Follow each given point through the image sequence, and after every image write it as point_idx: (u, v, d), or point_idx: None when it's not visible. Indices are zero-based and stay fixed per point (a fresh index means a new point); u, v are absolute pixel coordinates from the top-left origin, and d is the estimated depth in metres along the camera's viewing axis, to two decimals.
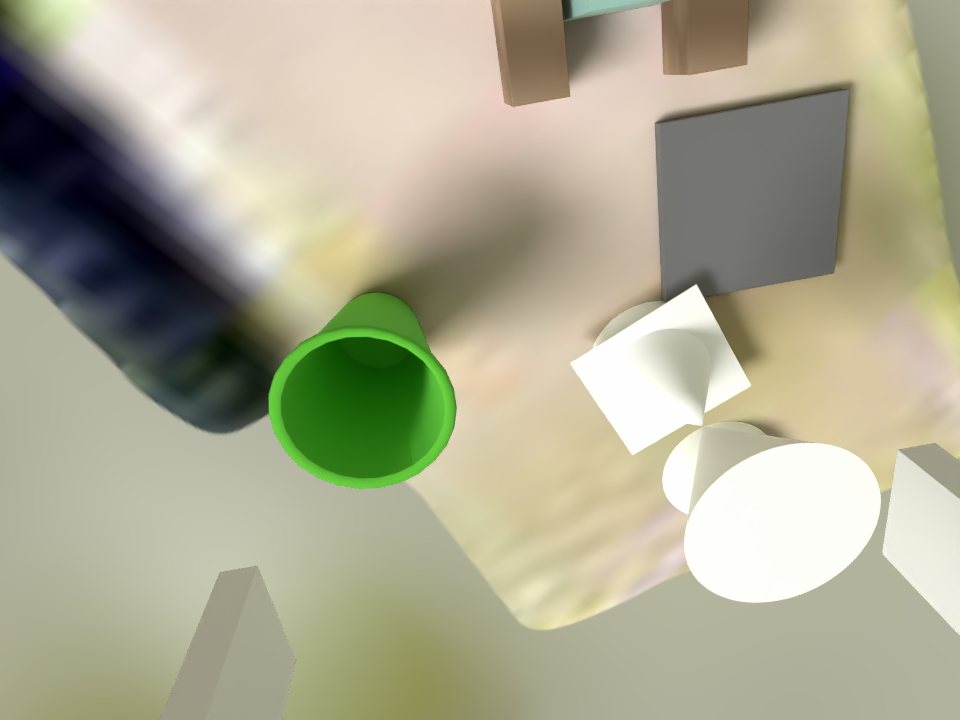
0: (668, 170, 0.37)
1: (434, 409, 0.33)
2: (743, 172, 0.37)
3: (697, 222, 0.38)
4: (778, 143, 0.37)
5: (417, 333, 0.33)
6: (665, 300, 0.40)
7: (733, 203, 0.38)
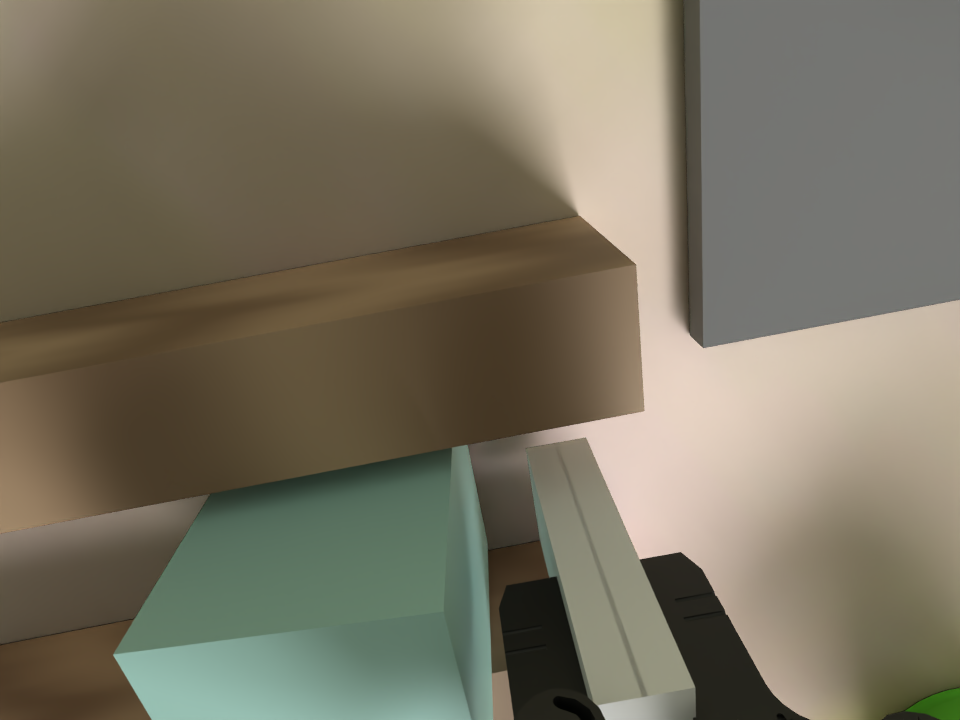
0: (812, 311, 0.15)
1: None
2: (870, 101, 0.13)
3: None
4: (814, 1, 0.12)
5: None
6: None
7: (946, 119, 0.13)
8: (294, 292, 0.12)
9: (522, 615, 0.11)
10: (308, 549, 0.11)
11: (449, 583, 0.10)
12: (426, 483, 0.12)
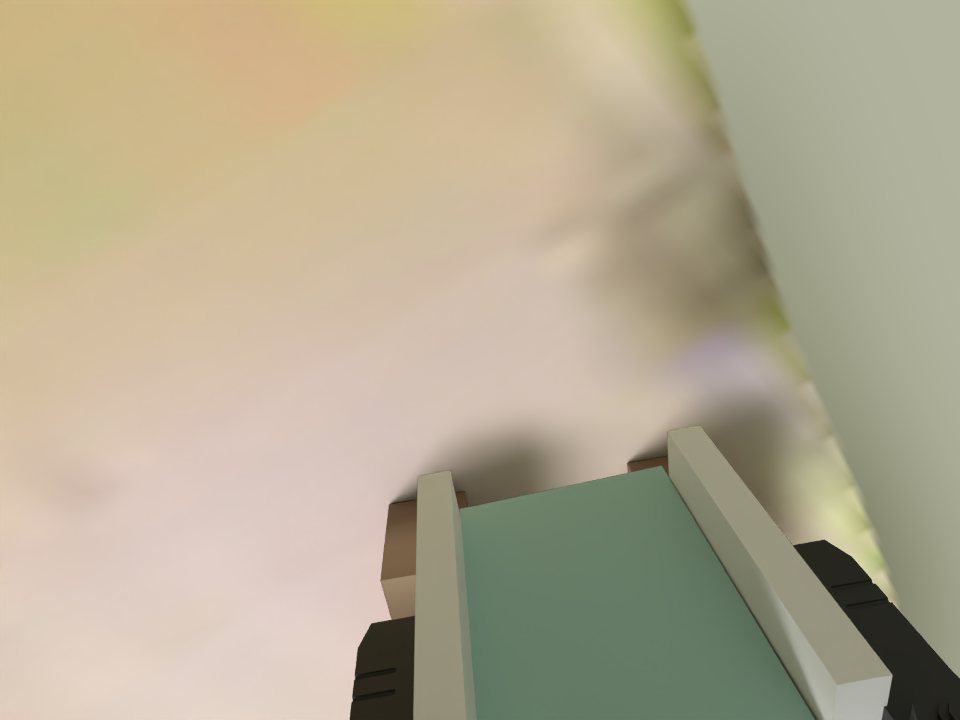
0: None
1: None
2: None
3: None
4: None
5: None
6: None
7: None
8: None
9: (379, 656, 0.11)
10: None
11: None
12: None
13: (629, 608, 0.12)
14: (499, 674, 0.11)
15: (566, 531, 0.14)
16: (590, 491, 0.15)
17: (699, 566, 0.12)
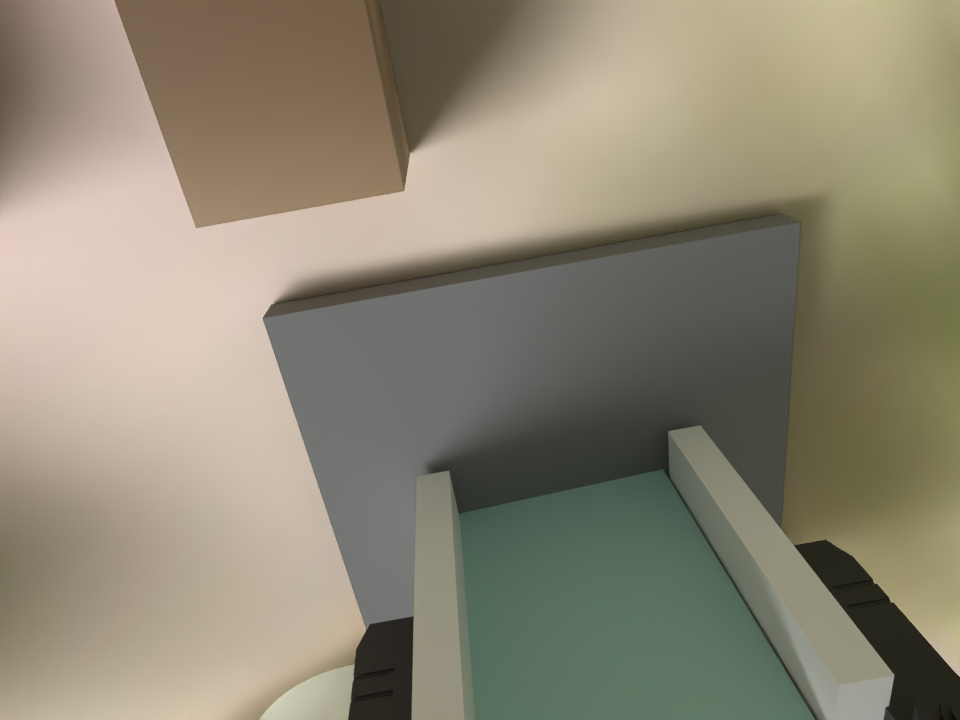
0: (319, 426, 0.14)
1: None
2: (527, 426, 0.14)
3: None
4: (612, 357, 0.14)
5: None
6: None
7: (510, 492, 0.15)
8: None
9: (377, 657, 0.11)
10: None
11: None
12: None
13: (632, 616, 0.11)
14: (501, 684, 0.11)
15: (567, 536, 0.14)
16: (591, 495, 0.15)
17: (702, 573, 0.12)
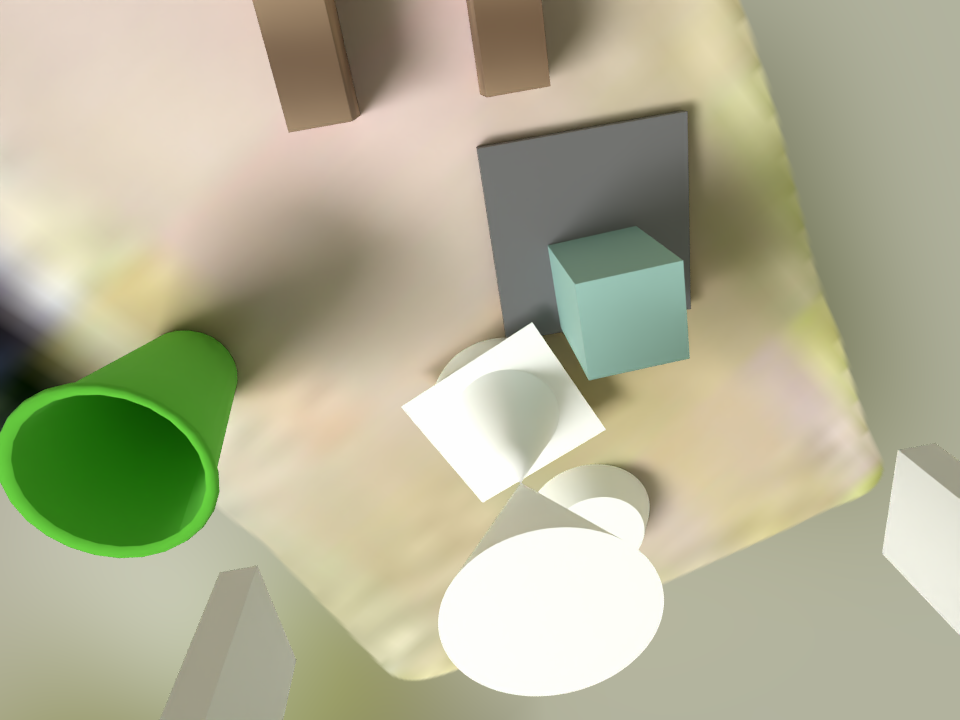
0: (493, 199, 0.33)
1: None
2: (578, 201, 0.34)
3: (532, 255, 0.35)
4: (613, 169, 0.33)
5: (193, 383, 0.30)
6: (506, 338, 0.37)
7: (569, 235, 0.35)
8: None
9: None
10: None
11: None
12: None
13: (621, 252, 0.31)
14: (575, 268, 0.30)
15: (595, 243, 0.33)
16: (605, 234, 0.34)
17: (648, 242, 0.32)
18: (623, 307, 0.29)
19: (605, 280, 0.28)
